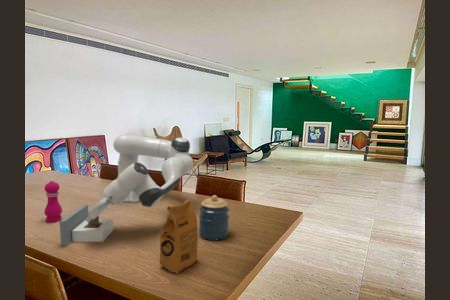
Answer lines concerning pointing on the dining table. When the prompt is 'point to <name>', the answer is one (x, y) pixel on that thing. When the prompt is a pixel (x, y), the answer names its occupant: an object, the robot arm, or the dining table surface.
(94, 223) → the walnut dowel
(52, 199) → the pepper mill
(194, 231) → the coffee package
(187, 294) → the dining table surface
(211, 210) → the canister
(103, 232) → the white socket block
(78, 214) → the slate backstop wall
